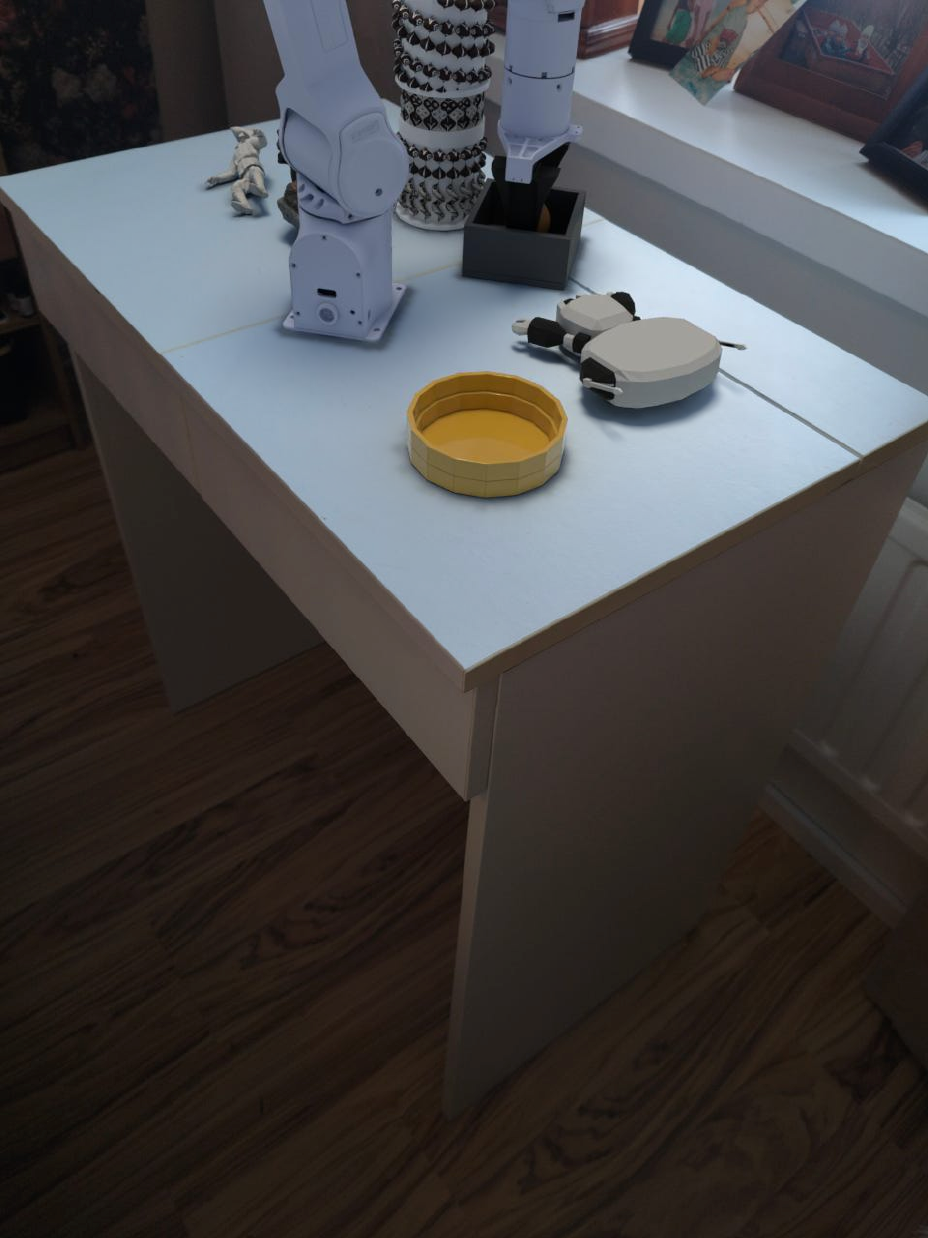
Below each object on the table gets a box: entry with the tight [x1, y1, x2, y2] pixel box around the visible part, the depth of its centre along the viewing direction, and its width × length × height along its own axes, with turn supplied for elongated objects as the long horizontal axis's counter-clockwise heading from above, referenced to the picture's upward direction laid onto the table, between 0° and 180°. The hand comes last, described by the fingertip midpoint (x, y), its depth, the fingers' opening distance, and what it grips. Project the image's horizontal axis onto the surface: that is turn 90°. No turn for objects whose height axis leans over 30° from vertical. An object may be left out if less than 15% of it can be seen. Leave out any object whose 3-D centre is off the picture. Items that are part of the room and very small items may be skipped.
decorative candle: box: [390, 0, 501, 232], centre depth 89 cm, size 9×9×25 cm
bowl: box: [406, 370, 569, 499], centre depth 70 cm, size 11×11×3 cm
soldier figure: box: [204, 126, 269, 215], centre depth 98 cm, size 8×5×12 cm
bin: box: [461, 177, 587, 291], centre depth 90 cm, size 10×9×5 cm
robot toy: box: [511, 290, 748, 409], centre depth 78 cm, size 12×4×15 cm
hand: (525, 231), depth 90 cm, fingers closed on teddy, 4 cm apart
